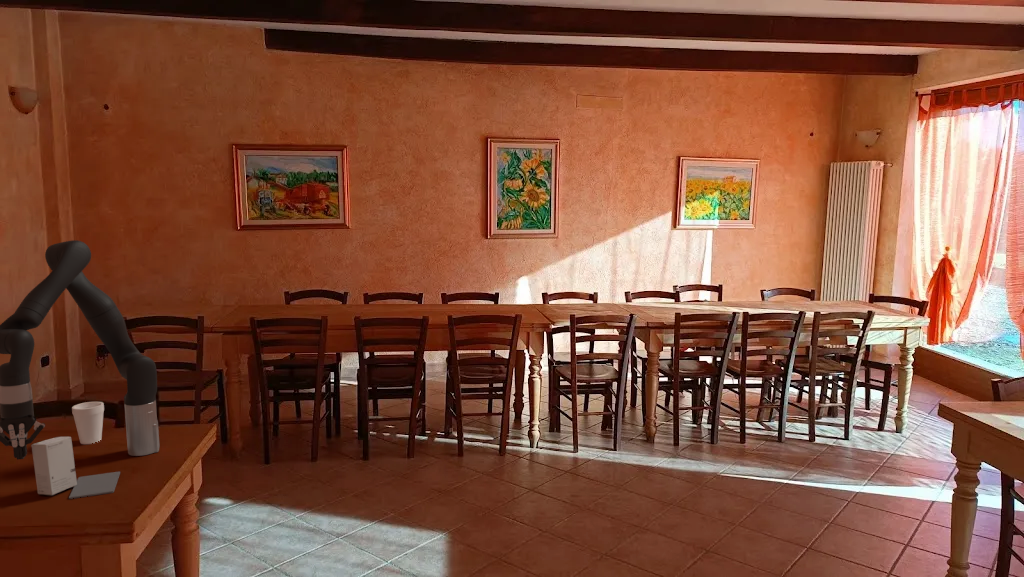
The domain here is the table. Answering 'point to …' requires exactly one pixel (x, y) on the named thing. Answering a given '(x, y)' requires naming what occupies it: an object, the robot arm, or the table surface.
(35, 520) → the table surface
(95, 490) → the flat gray panel
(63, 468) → the skincare box
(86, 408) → the foam cup
